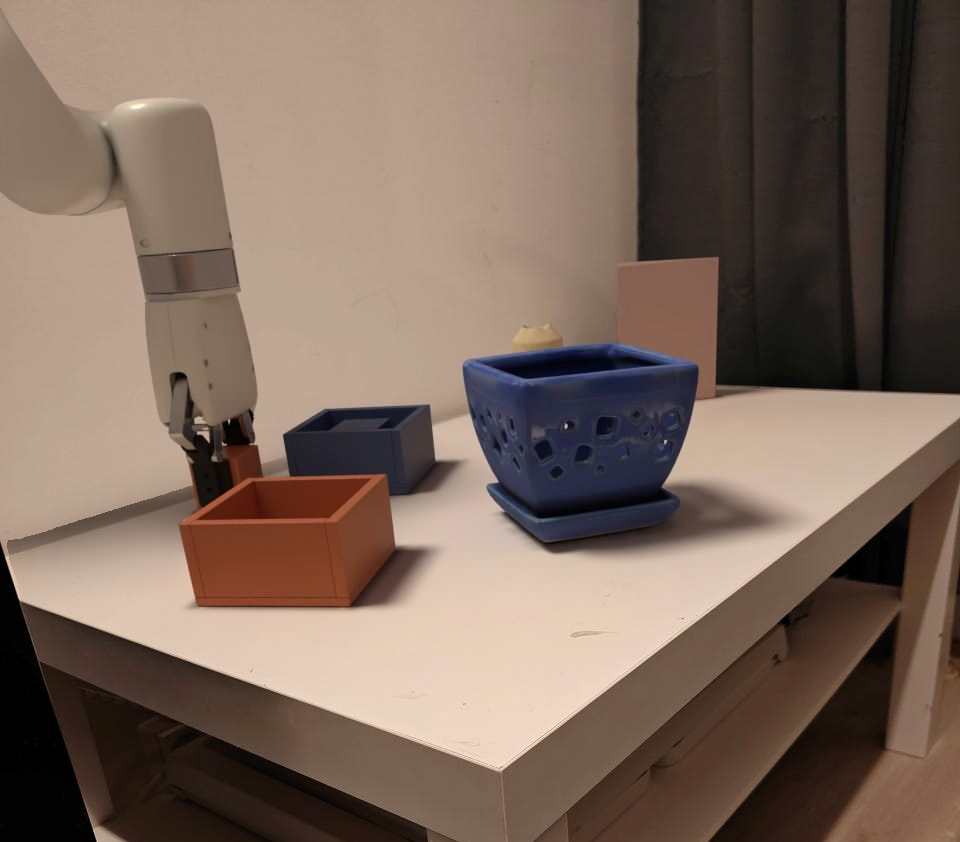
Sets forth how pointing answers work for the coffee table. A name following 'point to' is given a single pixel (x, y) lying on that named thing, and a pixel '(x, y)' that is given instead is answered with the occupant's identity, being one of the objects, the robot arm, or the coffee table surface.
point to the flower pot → (582, 435)
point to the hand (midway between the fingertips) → (231, 495)
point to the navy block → (363, 424)
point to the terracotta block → (238, 464)
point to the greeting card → (672, 311)
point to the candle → (536, 339)
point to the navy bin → (364, 445)
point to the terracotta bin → (290, 541)
